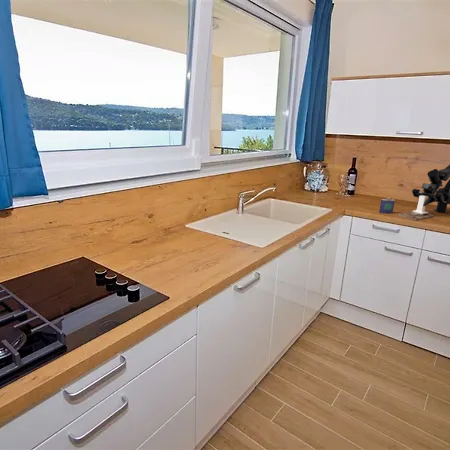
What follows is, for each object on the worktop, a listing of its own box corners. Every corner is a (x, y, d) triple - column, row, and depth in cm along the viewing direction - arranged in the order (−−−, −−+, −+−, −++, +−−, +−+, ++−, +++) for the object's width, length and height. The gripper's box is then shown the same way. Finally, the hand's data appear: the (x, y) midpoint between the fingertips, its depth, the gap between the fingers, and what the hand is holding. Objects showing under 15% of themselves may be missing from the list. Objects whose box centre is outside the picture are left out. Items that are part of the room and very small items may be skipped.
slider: (417, 210, 220) (421, 194, 217) (427, 213, 215) (431, 196, 211) (412, 211, 217) (415, 195, 214) (422, 214, 212) (425, 197, 209)
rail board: (415, 212, 224) (416, 208, 223) (433, 216, 215) (434, 212, 214) (397, 215, 214) (398, 211, 214) (415, 220, 205) (416, 216, 204)
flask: (391, 212, 222) (394, 196, 219) (393, 213, 219) (396, 197, 216) (378, 212, 221) (380, 196, 218) (380, 213, 218) (383, 197, 215)
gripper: (416, 176, 219) (403, 194, 217) (446, 181, 204) (432, 200, 202) (420, 187, 225) (407, 204, 223) (449, 192, 210) (436, 211, 208)
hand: (420, 205), depth 214 cm, fingers closed on slider, 3 cm apart
